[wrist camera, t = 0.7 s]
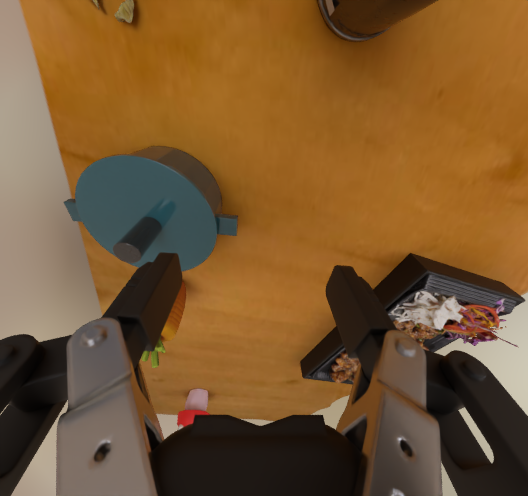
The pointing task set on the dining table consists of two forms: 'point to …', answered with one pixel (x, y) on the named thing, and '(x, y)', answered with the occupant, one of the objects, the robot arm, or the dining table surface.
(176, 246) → the pan lid
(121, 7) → the tongs
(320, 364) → the food platter
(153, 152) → the saucepan
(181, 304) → the carrot
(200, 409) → the mushroom
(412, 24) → the dining table surface
